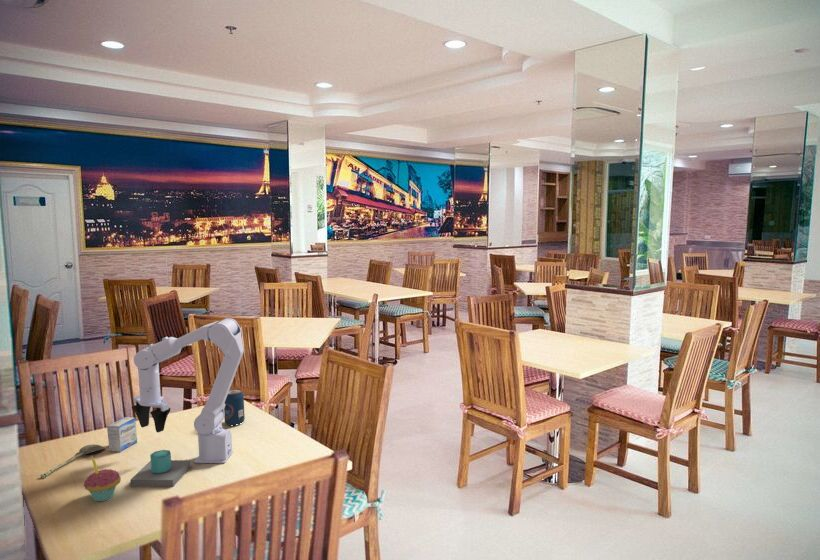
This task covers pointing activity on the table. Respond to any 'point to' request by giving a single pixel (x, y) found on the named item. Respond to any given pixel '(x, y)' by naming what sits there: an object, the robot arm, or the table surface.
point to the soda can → (234, 407)
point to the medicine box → (122, 434)
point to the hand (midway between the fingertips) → (152, 428)
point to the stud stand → (161, 475)
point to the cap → (160, 461)
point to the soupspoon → (82, 451)
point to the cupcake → (102, 483)
